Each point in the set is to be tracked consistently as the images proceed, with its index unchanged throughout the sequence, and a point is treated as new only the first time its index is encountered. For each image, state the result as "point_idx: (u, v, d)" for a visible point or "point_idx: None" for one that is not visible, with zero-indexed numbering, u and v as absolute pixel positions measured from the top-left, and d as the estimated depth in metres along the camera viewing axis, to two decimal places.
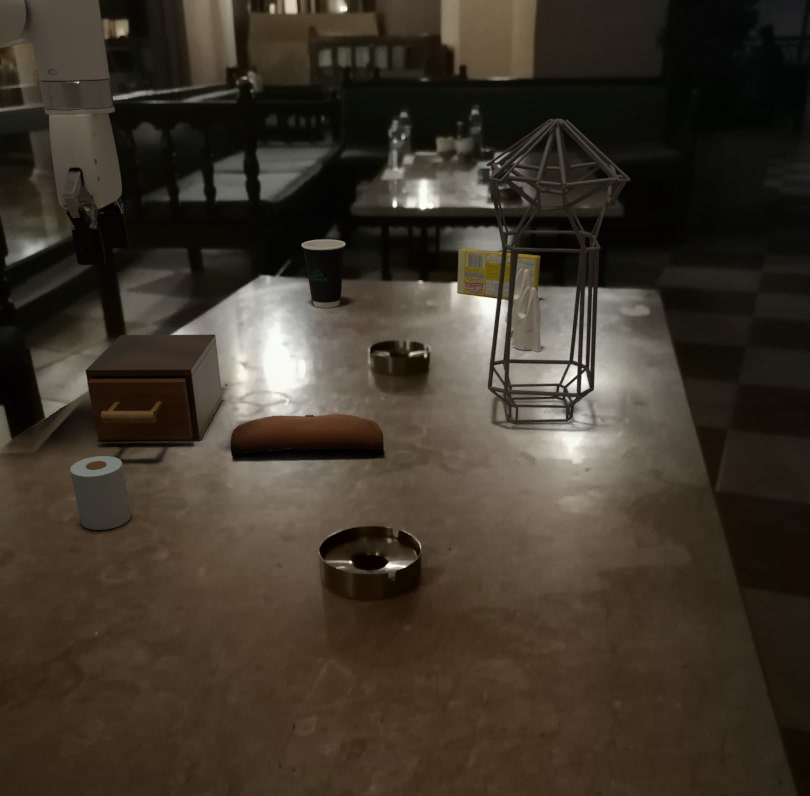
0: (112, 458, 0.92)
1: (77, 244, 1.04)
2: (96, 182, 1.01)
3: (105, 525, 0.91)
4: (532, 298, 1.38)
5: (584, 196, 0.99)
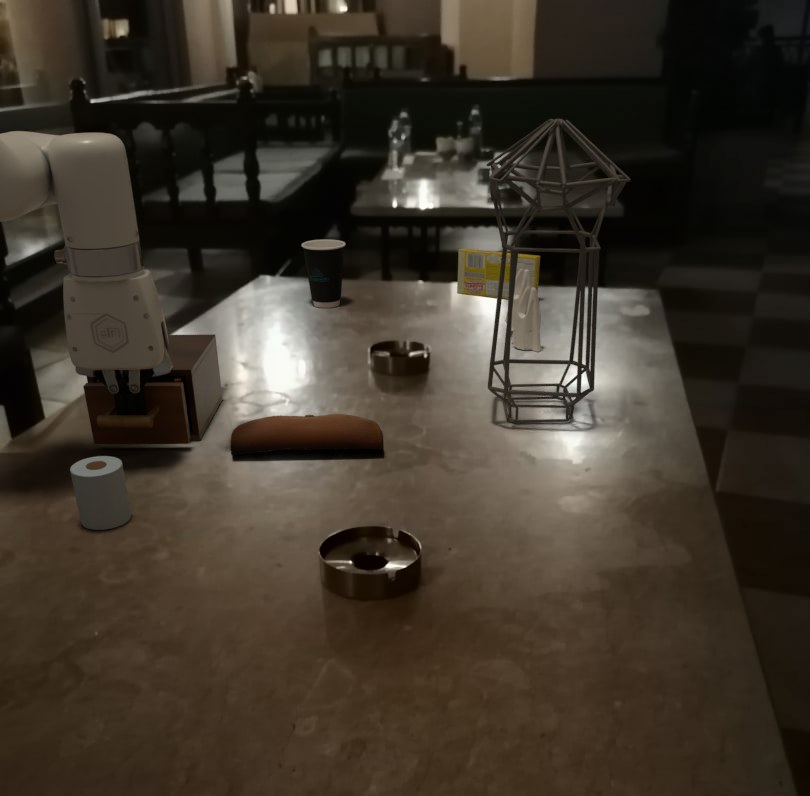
0: (112, 458, 0.92)
1: (134, 407, 1.03)
2: None
3: (105, 525, 0.91)
4: (532, 298, 1.38)
5: (584, 196, 0.99)
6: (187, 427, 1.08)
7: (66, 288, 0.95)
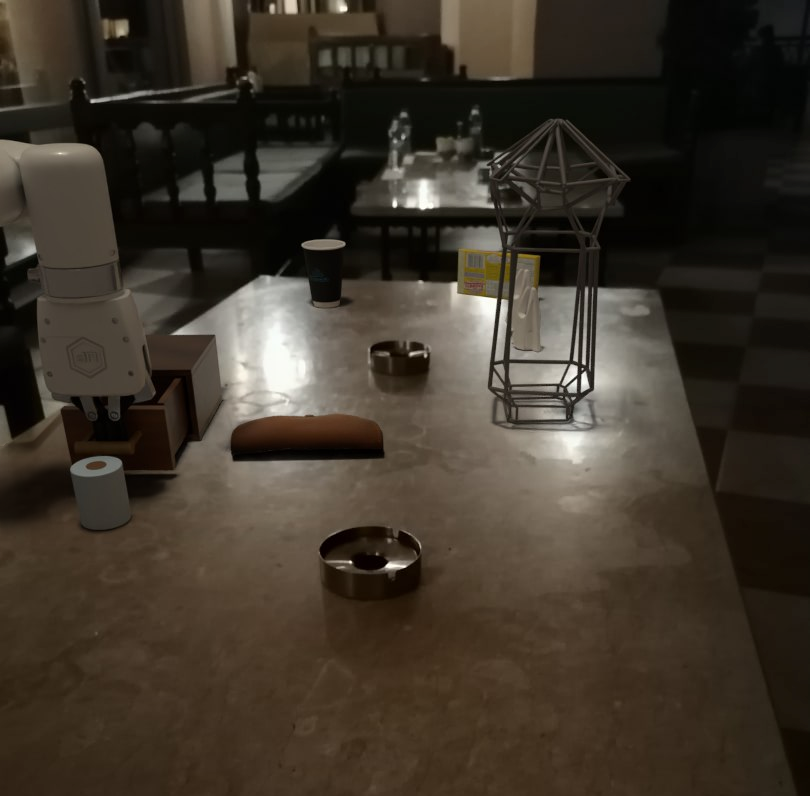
0: (112, 458, 0.92)
1: (114, 435, 0.96)
2: None
3: (105, 525, 0.91)
4: (532, 298, 1.38)
5: (584, 196, 0.99)
6: (172, 453, 1.01)
7: (40, 309, 0.89)
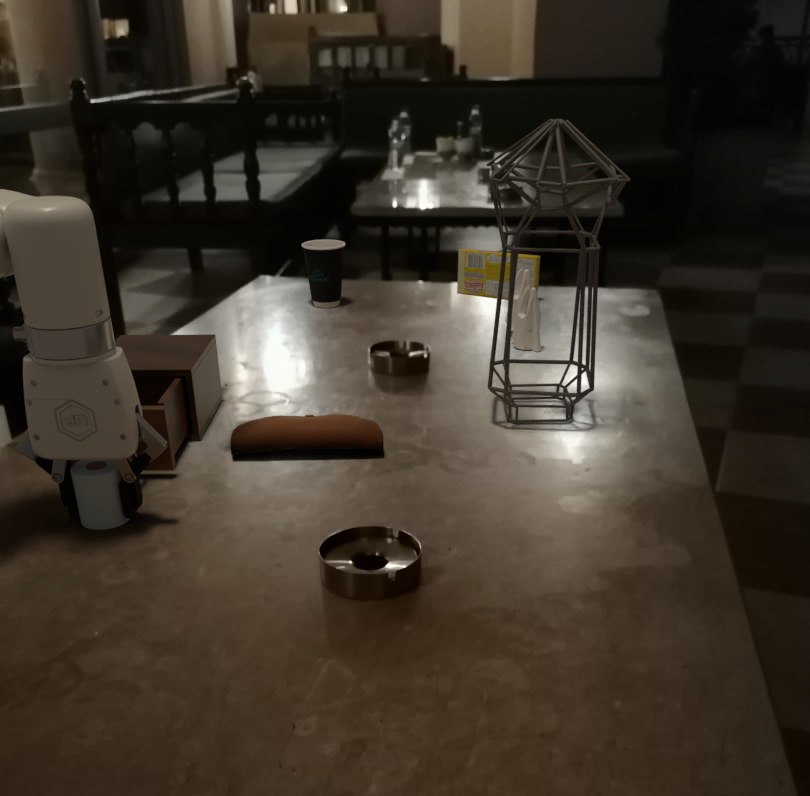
0: None
1: (128, 497, 0.91)
2: None
3: (105, 525, 0.91)
4: (532, 298, 1.38)
5: (584, 196, 0.99)
6: (172, 453, 1.01)
7: (26, 371, 0.83)
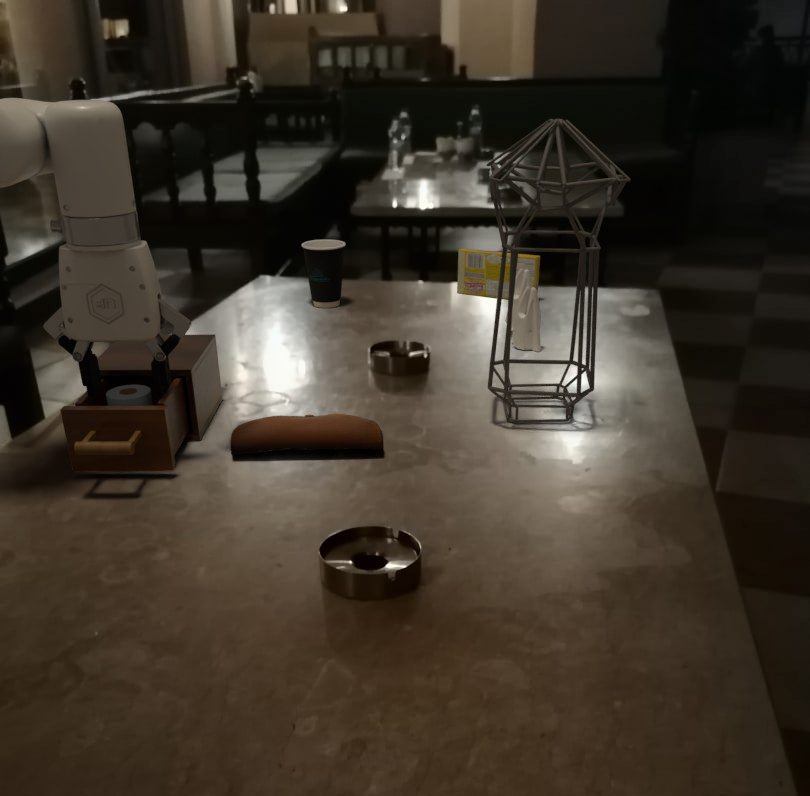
0: (142, 386, 1.05)
1: (159, 375, 1.02)
2: None
3: None
4: (532, 298, 1.38)
5: (584, 196, 0.99)
6: (172, 453, 1.01)
7: (62, 258, 0.94)
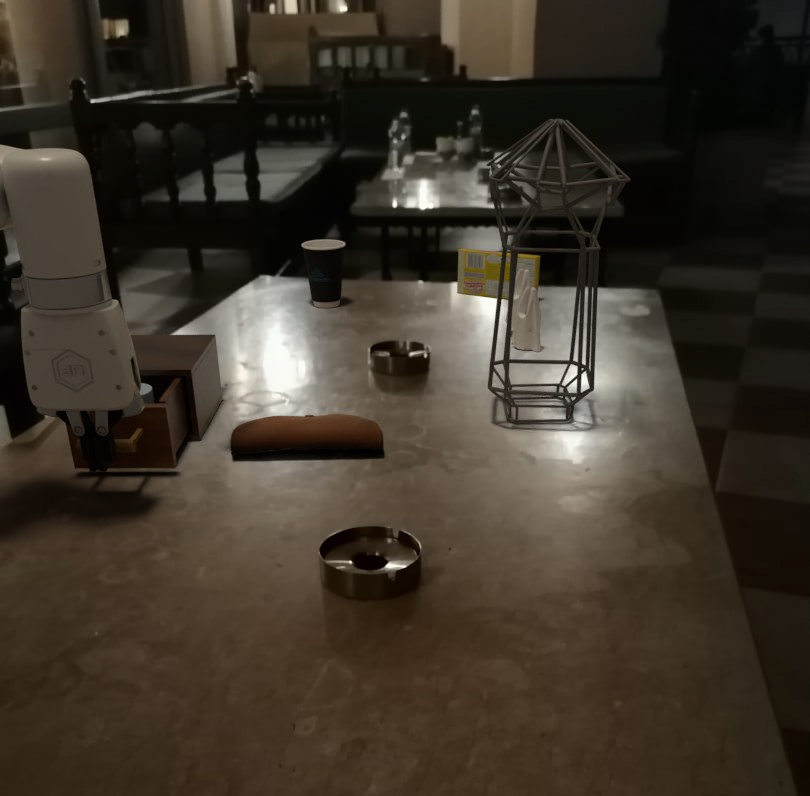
0: (143, 384, 1.06)
1: (102, 450, 0.93)
2: None
3: None
4: (532, 298, 1.38)
5: (584, 196, 0.99)
6: (173, 450, 1.02)
7: (24, 321, 0.85)
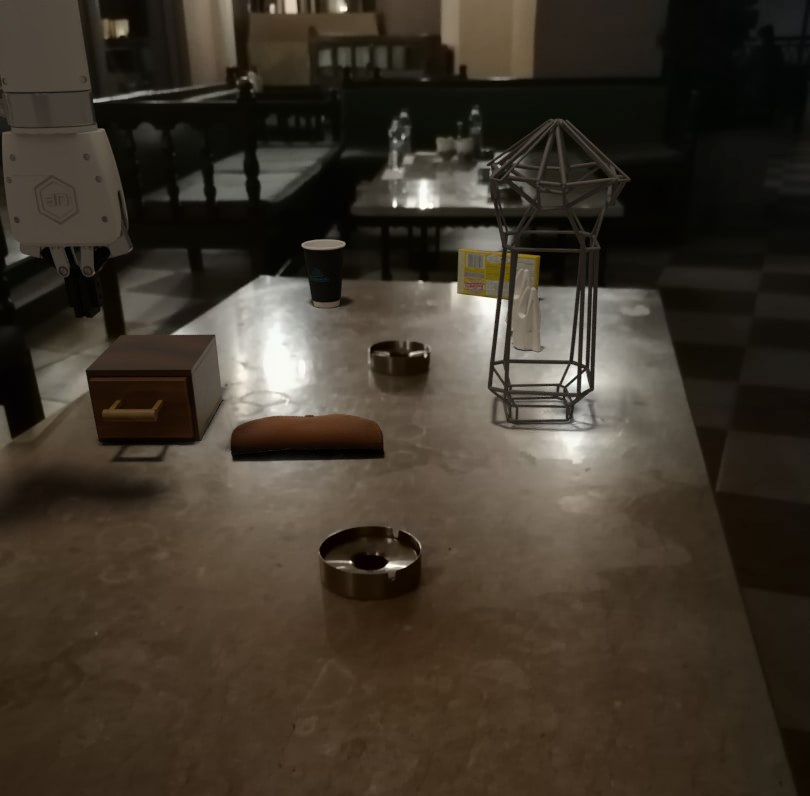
0: None
1: (88, 294, 0.89)
2: None
3: None
4: (532, 298, 1.38)
5: (584, 196, 0.99)
6: (191, 421, 1.09)
7: (5, 144, 0.82)
